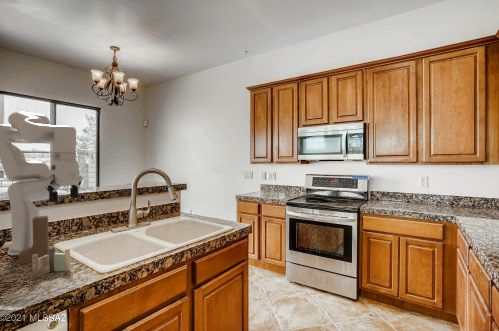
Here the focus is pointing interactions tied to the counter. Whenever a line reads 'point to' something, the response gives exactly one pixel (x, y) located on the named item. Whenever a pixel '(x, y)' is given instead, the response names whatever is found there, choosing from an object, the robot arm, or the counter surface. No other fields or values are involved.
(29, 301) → the counter surface
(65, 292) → the counter surface
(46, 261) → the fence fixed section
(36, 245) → the wooden block
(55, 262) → the fence swing section
